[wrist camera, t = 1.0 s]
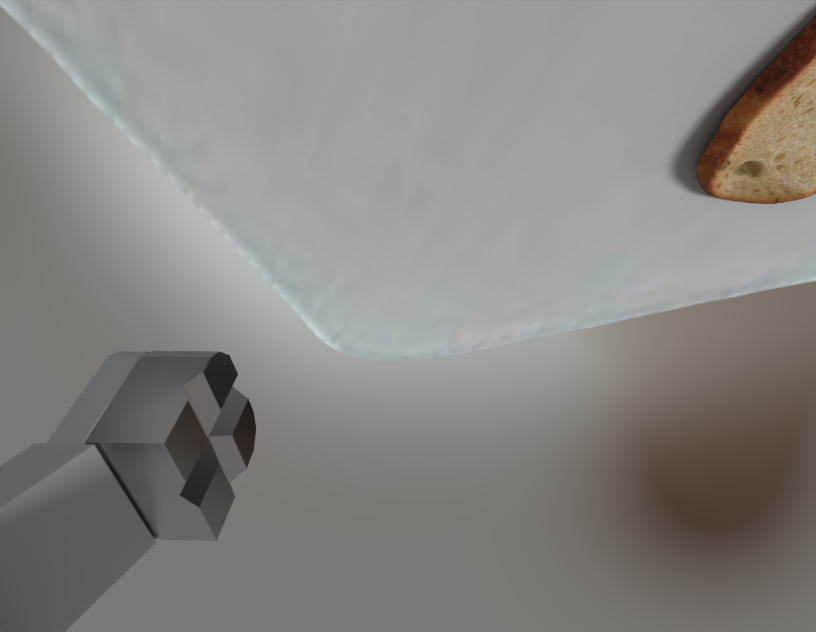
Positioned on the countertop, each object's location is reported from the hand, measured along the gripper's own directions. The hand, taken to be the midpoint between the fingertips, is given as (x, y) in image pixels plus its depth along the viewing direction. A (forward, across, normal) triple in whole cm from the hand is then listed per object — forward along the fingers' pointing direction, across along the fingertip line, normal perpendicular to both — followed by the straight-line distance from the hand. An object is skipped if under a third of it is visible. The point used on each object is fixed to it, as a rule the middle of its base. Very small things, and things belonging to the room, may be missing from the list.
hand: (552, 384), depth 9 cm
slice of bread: (+49, -17, +18) cm, 55 cm away
